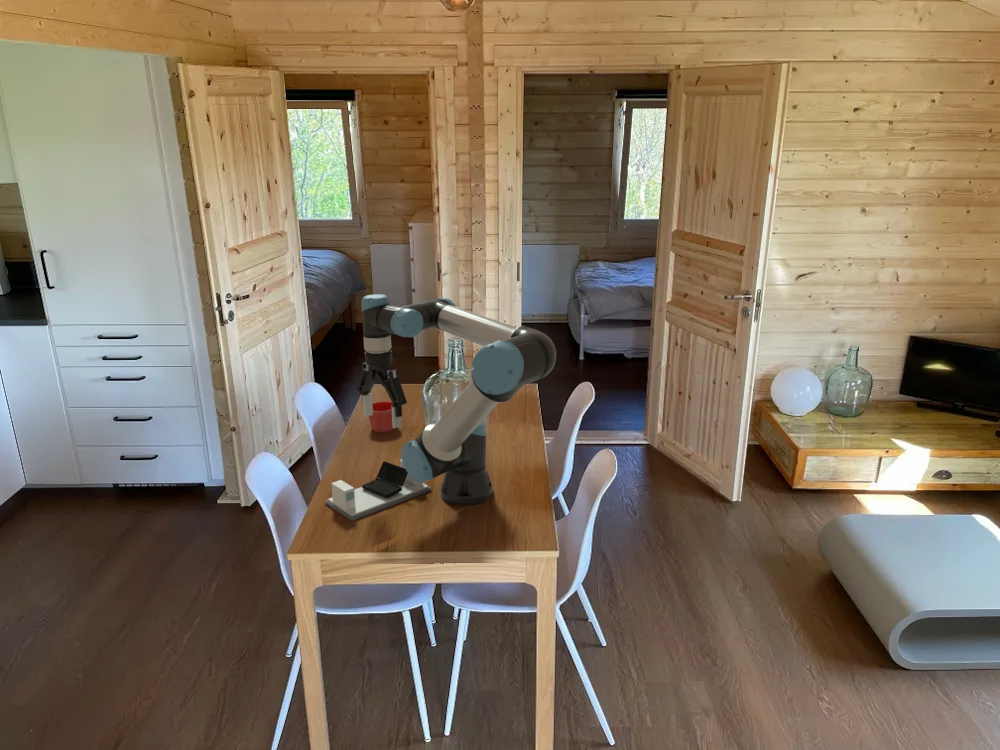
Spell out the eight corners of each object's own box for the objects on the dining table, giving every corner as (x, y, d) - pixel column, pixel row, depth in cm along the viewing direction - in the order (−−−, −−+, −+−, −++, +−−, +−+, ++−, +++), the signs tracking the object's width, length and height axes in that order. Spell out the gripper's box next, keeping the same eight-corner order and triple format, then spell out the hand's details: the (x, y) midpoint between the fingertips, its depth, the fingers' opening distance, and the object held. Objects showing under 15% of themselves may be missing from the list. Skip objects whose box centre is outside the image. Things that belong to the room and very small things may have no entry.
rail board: (431, 490, 213) (430, 467, 211) (351, 521, 196) (349, 496, 194) (403, 475, 223) (402, 453, 221) (325, 503, 206) (323, 479, 203)
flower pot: (365, 428, 261) (363, 403, 259) (394, 424, 265) (393, 399, 263) (372, 439, 252) (370, 412, 249) (402, 434, 256) (401, 408, 253)
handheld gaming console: (365, 494, 212) (360, 486, 210) (388, 468, 218) (383, 460, 216) (390, 504, 206) (385, 496, 204) (413, 477, 211) (408, 469, 209)
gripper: (417, 355, 197) (420, 428, 203) (362, 340, 213) (367, 408, 219) (395, 360, 191) (399, 435, 198) (341, 345, 208) (346, 414, 214)
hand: (382, 421), depth 209 cm, fingers open, 13 cm apart
